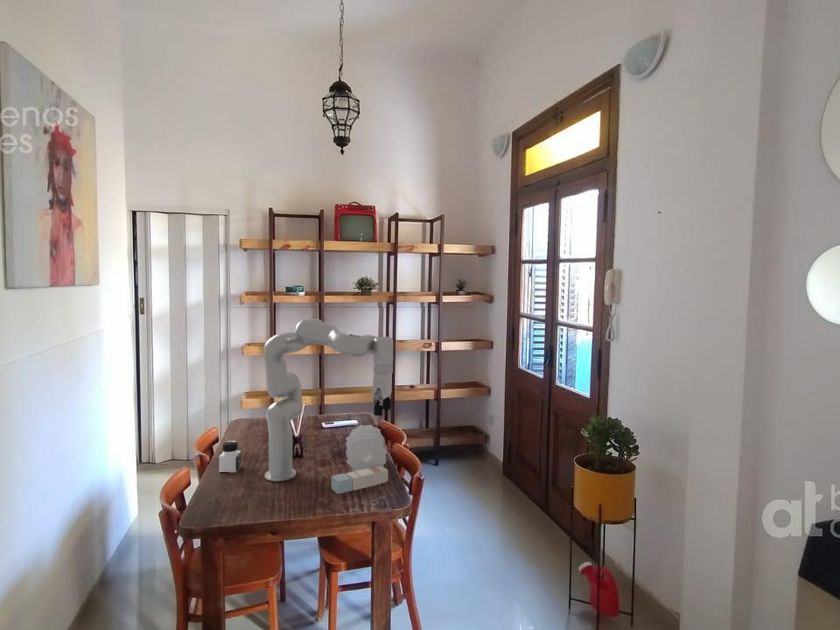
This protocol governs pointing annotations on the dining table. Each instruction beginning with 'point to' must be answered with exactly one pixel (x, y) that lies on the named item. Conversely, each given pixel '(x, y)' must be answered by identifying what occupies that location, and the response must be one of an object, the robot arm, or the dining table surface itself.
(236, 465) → the medicine bottle
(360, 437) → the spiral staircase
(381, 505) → the dining table surface
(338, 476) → the grey box
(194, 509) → the dining table surface
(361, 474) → the block
